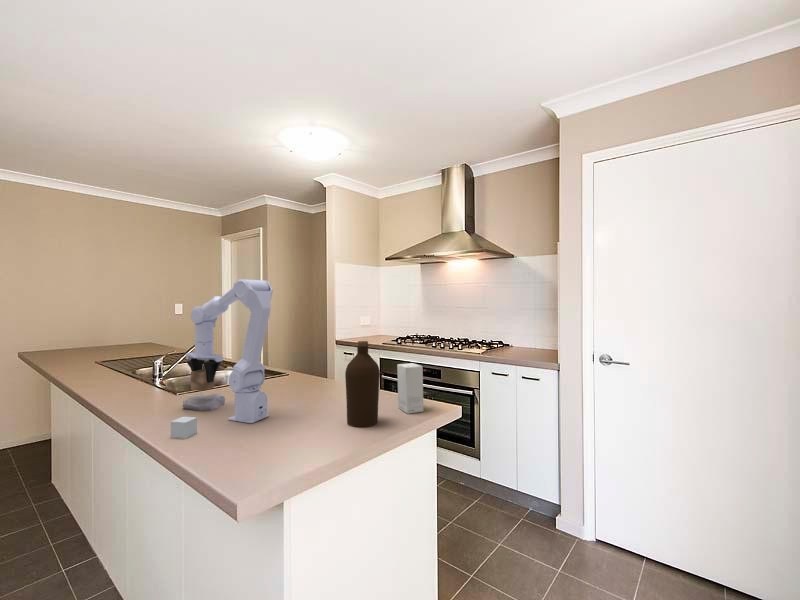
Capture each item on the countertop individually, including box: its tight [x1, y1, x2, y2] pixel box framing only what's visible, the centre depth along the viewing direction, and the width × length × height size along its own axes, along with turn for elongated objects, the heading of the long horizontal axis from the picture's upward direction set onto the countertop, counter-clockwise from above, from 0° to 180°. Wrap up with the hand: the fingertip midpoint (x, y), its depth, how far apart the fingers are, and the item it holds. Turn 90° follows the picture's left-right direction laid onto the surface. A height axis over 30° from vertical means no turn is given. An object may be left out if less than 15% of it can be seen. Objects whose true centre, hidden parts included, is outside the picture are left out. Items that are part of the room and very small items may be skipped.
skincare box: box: [396, 362, 424, 415], centre depth 132 cm, size 8×7×16 cm
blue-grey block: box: [170, 416, 198, 440], centre depth 107 cm, size 4×4×4 cm
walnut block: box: [190, 368, 215, 392], centre depth 132 cm, size 5×5×6 cm
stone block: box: [182, 392, 226, 412], centre depth 135 cm, size 12×5×10 cm
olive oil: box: [344, 340, 381, 428], centre depth 119 cm, size 11×11×25 cm
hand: (203, 381), depth 132 cm, fingers closed on walnut block, 5 cm apart
